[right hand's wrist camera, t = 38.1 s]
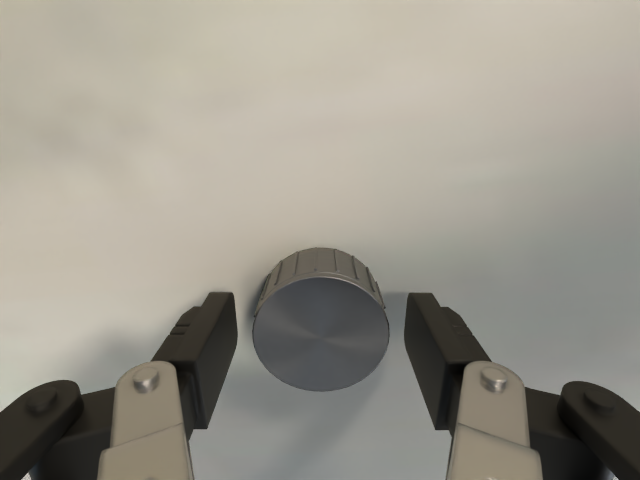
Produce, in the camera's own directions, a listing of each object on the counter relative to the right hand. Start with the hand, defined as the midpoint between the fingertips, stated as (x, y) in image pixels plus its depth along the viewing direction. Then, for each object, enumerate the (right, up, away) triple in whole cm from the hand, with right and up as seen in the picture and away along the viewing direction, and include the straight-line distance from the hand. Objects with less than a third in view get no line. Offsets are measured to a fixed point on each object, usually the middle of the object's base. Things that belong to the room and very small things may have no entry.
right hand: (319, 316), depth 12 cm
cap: (0, 0, -1) cm, 1 cm away
